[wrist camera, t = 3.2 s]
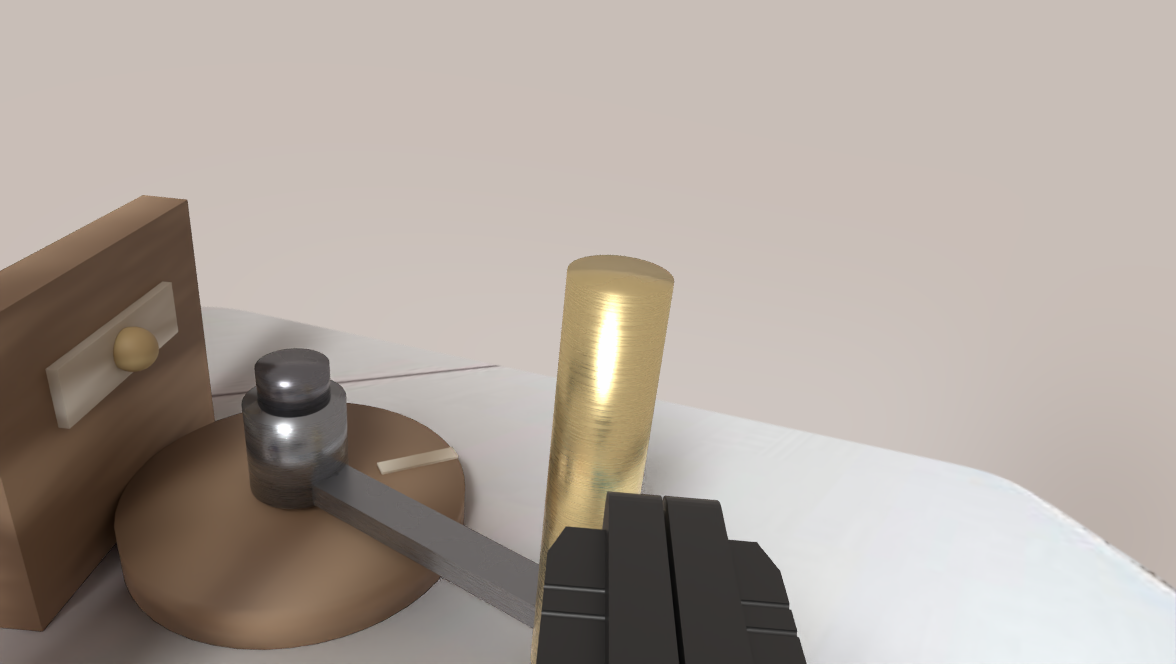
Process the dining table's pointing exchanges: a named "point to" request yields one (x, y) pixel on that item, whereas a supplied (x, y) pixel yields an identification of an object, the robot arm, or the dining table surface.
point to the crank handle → (577, 454)
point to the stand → (173, 457)
